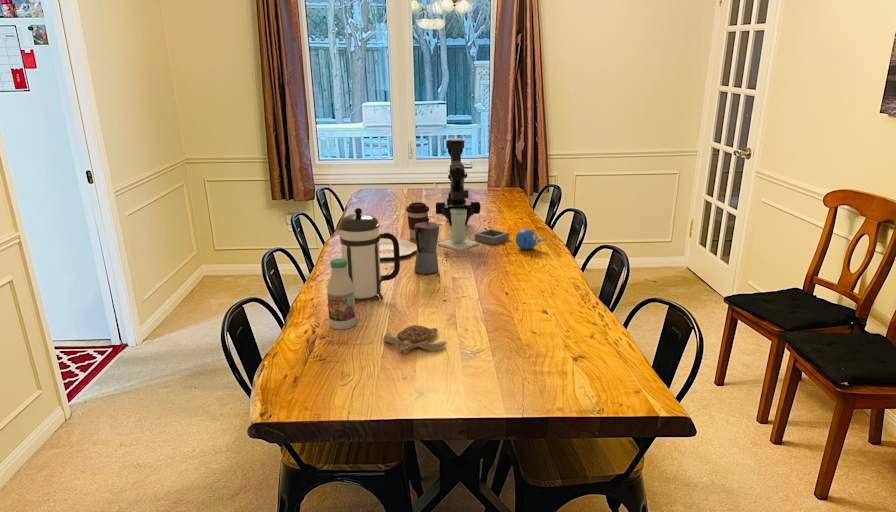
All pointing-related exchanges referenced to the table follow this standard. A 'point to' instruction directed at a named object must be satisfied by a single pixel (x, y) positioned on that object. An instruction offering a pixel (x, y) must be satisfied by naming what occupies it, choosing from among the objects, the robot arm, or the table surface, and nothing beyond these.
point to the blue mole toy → (527, 239)
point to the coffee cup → (416, 215)
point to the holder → (491, 236)
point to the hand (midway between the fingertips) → (458, 225)
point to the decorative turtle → (414, 338)
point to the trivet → (458, 244)
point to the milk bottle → (341, 296)
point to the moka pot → (426, 247)
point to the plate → (404, 248)
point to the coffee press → (365, 253)
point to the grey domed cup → (458, 224)
